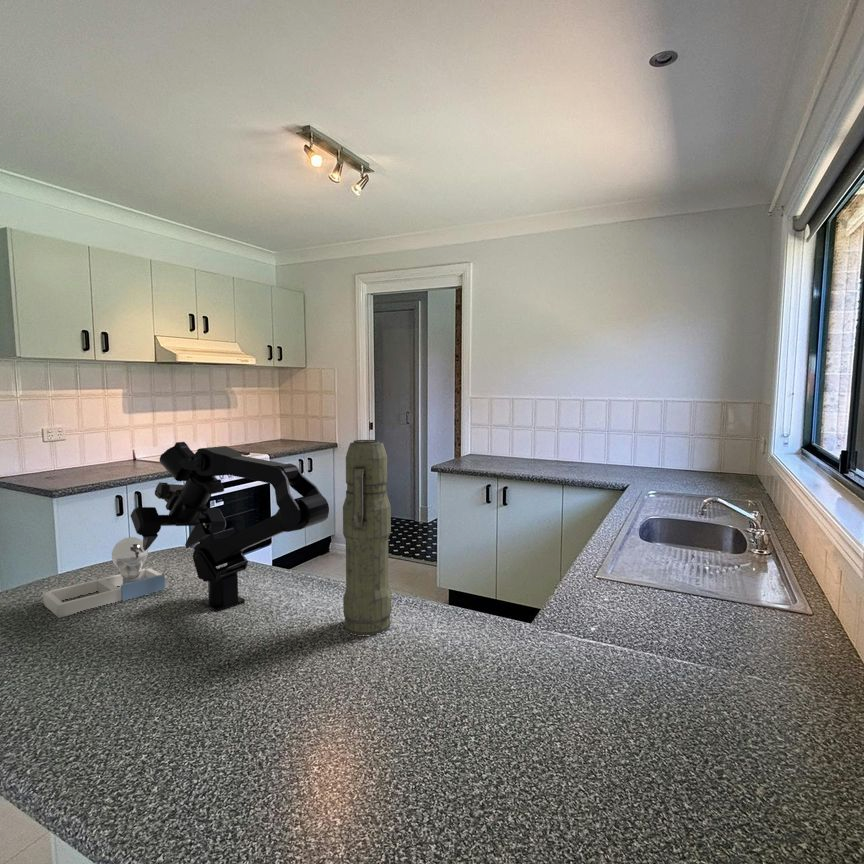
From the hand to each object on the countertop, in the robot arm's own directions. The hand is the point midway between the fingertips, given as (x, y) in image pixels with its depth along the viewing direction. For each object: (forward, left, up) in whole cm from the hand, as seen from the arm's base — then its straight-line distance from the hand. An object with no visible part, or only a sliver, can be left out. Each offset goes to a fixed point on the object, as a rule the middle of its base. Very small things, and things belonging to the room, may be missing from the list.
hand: (165, 547), depth 114 cm
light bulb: (+6, +5, -10) cm, 13 cm away
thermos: (-47, -16, -10) cm, 51 cm away
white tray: (+7, +9, -10) cm, 15 cm away
